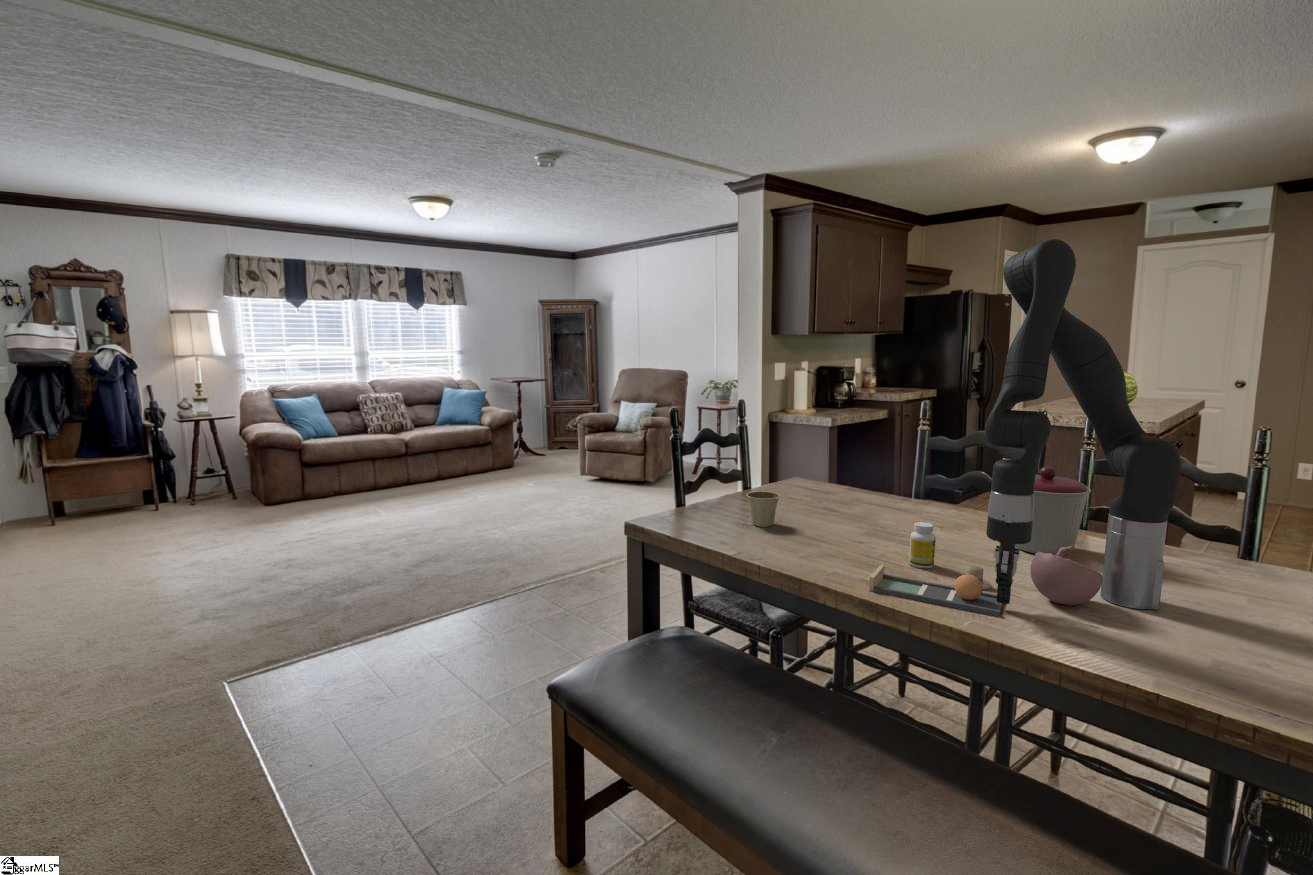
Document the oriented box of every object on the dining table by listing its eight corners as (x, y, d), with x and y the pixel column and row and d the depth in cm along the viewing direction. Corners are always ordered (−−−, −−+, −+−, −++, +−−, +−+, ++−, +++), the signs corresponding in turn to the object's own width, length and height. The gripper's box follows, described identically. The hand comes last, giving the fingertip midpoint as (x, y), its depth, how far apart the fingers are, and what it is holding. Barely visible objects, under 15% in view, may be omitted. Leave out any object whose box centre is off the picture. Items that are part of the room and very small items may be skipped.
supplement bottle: (936, 569, 145) (938, 528, 144) (911, 568, 147) (913, 526, 145) (931, 562, 151) (933, 521, 149) (906, 560, 152) (909, 520, 150)
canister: (1065, 567, 147) (1073, 477, 144) (986, 547, 162) (992, 465, 158) (1097, 552, 158) (1105, 468, 155) (1020, 534, 172) (1026, 457, 169)
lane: (1003, 600, 128) (1004, 586, 127) (999, 616, 120) (1000, 601, 120) (880, 577, 141) (880, 564, 140) (869, 590, 133) (869, 576, 133)
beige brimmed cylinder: (991, 583, 137) (992, 567, 137) (988, 592, 132) (989, 575, 132) (961, 577, 140) (962, 561, 140) (956, 586, 136) (958, 569, 135)
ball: (983, 597, 128) (984, 573, 127) (980, 606, 124) (981, 581, 123) (956, 592, 131) (957, 568, 130) (952, 600, 126) (953, 576, 126)
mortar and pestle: (1111, 606, 125) (1117, 550, 123) (1078, 619, 119) (1084, 560, 117) (1049, 587, 135) (1053, 534, 133) (1015, 598, 129) (1019, 543, 128)
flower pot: (740, 521, 186) (741, 492, 185) (769, 518, 189) (770, 490, 187) (754, 530, 177) (755, 499, 176) (785, 527, 180) (786, 497, 179)
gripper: (991, 505, 129) (985, 587, 131) (984, 520, 118) (977, 609, 120) (1034, 510, 125) (1027, 595, 127) (1031, 526, 114) (1023, 618, 116)
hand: (1003, 602), depth 124 cm, fingers closed
